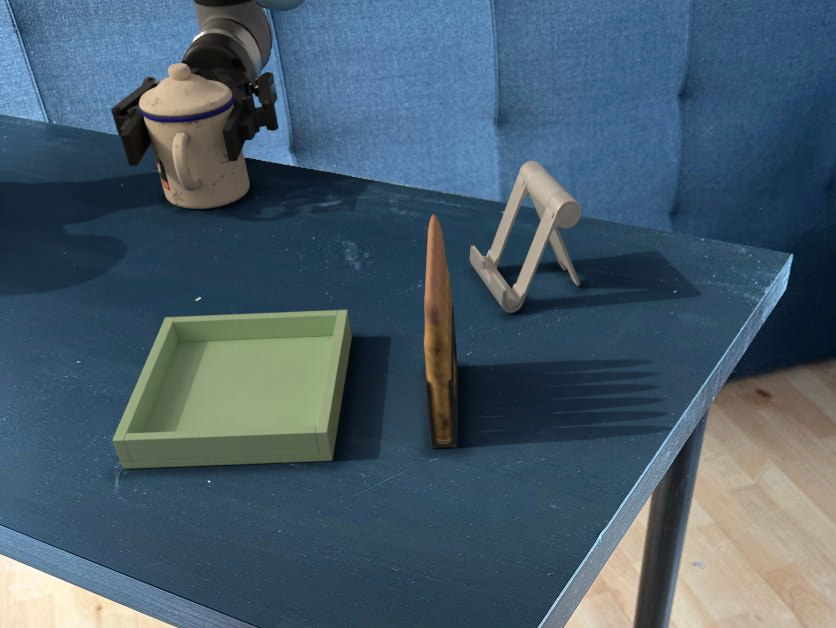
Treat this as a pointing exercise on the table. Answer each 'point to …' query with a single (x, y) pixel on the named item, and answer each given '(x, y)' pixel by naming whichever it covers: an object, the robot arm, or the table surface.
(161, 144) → the teacup with lid
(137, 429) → the tray
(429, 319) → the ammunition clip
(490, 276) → the tablet stand
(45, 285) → the table surface
